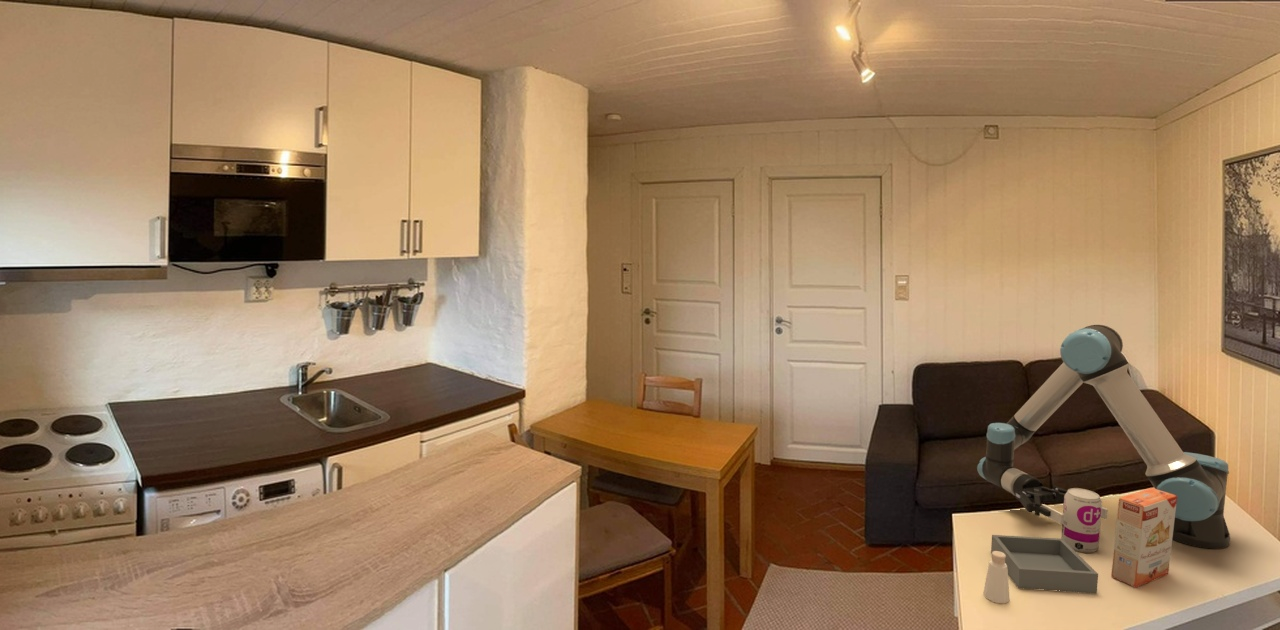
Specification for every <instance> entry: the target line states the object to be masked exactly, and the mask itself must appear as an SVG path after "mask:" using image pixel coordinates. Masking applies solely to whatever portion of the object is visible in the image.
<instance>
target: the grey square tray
mask: <svg viewBox="0 0 1280 630" xmlns="http://www.w3.org/2000/svg"><path fill="white" fill-rule="evenodd" d="M990 548H991V549H990V553H991V554H992V552H993V551H1000V552H1002V553H1004V554H1005V555H1006V557H1005V563H1006V565H1007V568H1008V578H1009V579H1010V580H1012V582H1013V584H1014V585H1015V586H1016V587H1017V589H1020V590H1021V589H1022V590H1023V588H1024V589H1025V590H1034V589H1044V590H1043V591H1049V590H1057V591H1056V592H1063V591H1066V593H1078V592H1079V593H1081V594H1092V595H1093V594H1098V583H1099V573H1098V572H1097V571H1096V570H1095V569H1094V568H1093V567H1092V566H1091V565H1090V564H1089V563H1088V562H1087V561H1085V560H1084V559H1083V557H1082V556H1081V555H1079V553H1077V551H1076V550H1073V549H1072V548H1071V547H1070V546H1069V545H1068V544H1067V543H1066V542H1065V541H1064V540H1063V539H1061V538H1058V537H1057V538H1056V537H1041V536H1040V537H1039V536H1038V537H1036V536H1019V535H1005V534H1004V535H1001V534H991V547H990ZM1059 590H1060V591H1059Z"/></svg>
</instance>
